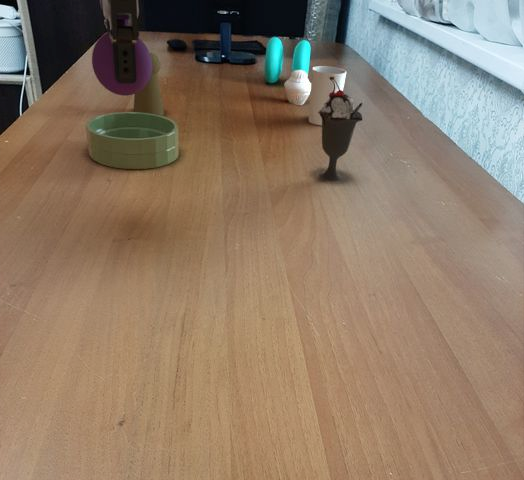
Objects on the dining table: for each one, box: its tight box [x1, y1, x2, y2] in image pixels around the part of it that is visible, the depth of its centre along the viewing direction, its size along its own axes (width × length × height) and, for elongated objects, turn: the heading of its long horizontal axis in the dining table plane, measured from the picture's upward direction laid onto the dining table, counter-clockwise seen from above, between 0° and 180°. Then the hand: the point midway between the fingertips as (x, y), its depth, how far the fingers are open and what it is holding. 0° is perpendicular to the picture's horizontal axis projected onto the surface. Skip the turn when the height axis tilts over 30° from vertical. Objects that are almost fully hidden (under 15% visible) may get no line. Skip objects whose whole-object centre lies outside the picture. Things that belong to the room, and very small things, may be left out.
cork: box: [132, 52, 165, 116], centre depth 108 cm, size 6×6×11 cm
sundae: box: [318, 77, 363, 182], centre depth 87 cm, size 7×7×15 cm
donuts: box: [264, 36, 312, 84], centre depth 137 cm, size 10×10×10 cm
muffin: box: [283, 69, 311, 106], centre depth 124 cm, size 6×6×7 cm
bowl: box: [85, 111, 180, 170], centre depth 92 cm, size 14×14×5 cm
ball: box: [91, 31, 152, 97], centre depth 62 cm, size 6×6×6 cm
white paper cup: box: [308, 65, 347, 127], centre depth 112 cm, size 7×7×10 cm
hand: (123, 74), depth 63 cm, fingers closed on ball, 6 cm apart
